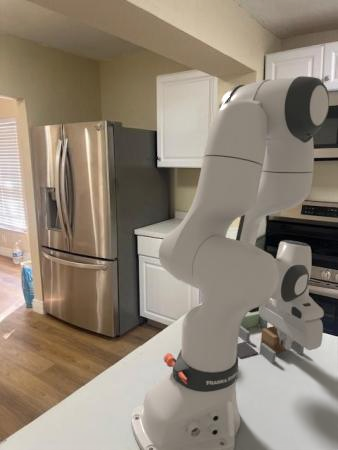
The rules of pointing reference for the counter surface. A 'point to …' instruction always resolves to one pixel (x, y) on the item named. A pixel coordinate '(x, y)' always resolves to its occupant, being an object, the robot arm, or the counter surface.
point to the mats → (245, 350)
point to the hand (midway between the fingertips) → (284, 346)
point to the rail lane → (265, 351)
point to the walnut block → (271, 339)
